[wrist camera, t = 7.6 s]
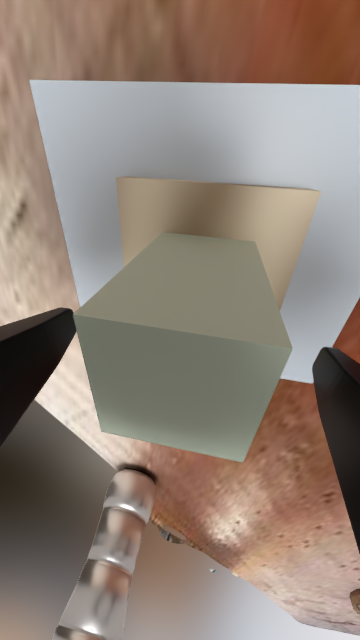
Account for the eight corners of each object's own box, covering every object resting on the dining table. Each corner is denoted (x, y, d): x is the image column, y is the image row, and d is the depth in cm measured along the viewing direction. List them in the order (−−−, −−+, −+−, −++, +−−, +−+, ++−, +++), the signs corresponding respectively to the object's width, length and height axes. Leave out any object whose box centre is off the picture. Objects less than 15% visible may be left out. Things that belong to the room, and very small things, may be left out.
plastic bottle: (144, 461, 30) (40, 814, 14) (167, 485, 33) (105, 801, 16) (106, 463, 32) (-20, 764, 16) (131, 486, 35) (46, 761, 19)
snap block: (255, 241, 11) (293, 348, 4) (236, 320, 14) (242, 462, 7) (162, 231, 12) (72, 314, 5) (161, 309, 14) (101, 431, 8)
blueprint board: (466, 90, 9) (476, 87, 8) (310, 379, 18) (311, 383, 17) (35, 82, 11) (29, 80, 10) (91, 343, 20) (89, 346, 19)
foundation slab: (310, 188, 11) (321, 191, 9) (262, 338, 16) (265, 353, 14) (128, 176, 12) (115, 176, 11) (137, 319, 17) (129, 332, 16)
